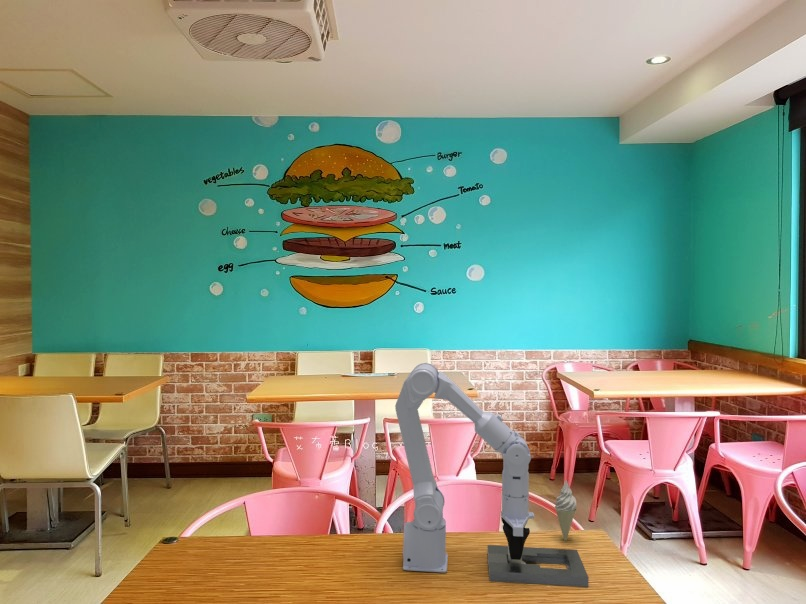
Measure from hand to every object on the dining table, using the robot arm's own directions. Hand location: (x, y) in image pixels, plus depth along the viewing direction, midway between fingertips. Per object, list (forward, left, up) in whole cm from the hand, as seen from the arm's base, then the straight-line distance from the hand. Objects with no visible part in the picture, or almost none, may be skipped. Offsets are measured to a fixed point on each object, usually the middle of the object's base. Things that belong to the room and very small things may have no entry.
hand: (514, 554), depth 121 cm
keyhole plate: (+4, 0, -3) cm, 5 cm away
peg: (0, 0, -3) cm, 3 cm away
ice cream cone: (+13, +15, -3) cm, 20 cm away
